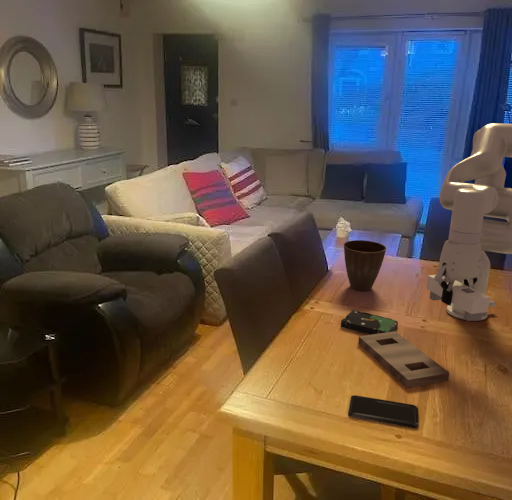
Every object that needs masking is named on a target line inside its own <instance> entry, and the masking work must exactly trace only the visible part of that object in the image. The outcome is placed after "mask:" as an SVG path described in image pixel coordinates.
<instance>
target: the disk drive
mask: <svg viewBox="0 0 512 500" xmlns="http://www.w3.org/2000/svg"><path fill="white" fill-rule="evenodd" d="M398 325H399V322H398V320H396V319H392V318H390V317H384V316H381V315H377V314H373V313H368V312H364V311H360V310H355V309H352V310H351V311H350V312H349V313H348V314H346V316H345V318H343V319H341V321H340V328H343V329H347V330H350V331H354V332H357V333H361V334H366V335H373V334H380V333H387V332H394V331H396V330H397V328H398Z"/></svg>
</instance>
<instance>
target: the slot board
mask: <svg viewBox="0 0 512 500" xmlns="http://www.w3.org/2000/svg"><path fill="white" fill-rule="evenodd" d="M358 345H360V347H362V348H363V349H364V350H365V351H366V352H367V353H368V354H370V356H372V357H373V358H374V359H375V361H377V362H378V363H379V364H380V365H381V366H383V367H384V368H385V369H386V370H387V371H388V372H389V373H390V374H392V376H393V377H395V378H396V379H397V380H398V381H399V382H400V383H401V384H402V385H404V386H405V387H406V389H407V388H409V389H410V388H414V387H421V386H425V385H431V384H437V383H443V382H448V381H449V379H450V372H449V370H447V369H446V368H444V367H443V366H442V365H440V364H439V363H438V362H437V361H435V360H434V359H432V358H431V357H430V356H429V355H427V354H426V353H425V352H424V351H422V350H421V349H419V348H418V347H417V346H416V345H414V344H413V343H412V342H410V341H409V340H407V339H406V338H405V337H404V336H403V335H401V334H400V333H399V332H397V331H396V330H395V331H394V332H387V333H380V334H373V335H369V334H366V335H359V336H358Z"/></svg>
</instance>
